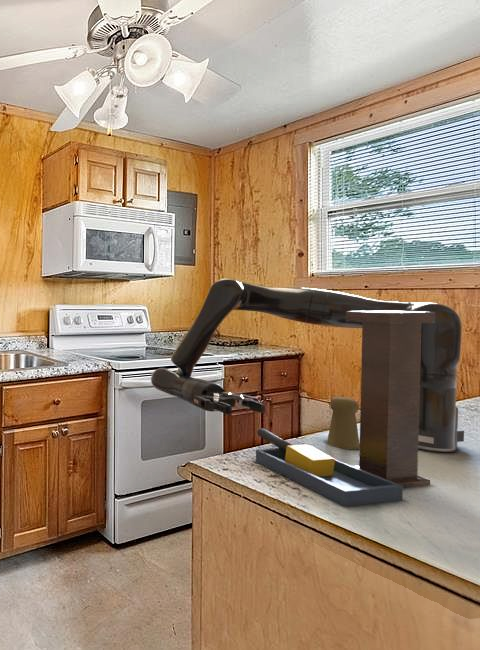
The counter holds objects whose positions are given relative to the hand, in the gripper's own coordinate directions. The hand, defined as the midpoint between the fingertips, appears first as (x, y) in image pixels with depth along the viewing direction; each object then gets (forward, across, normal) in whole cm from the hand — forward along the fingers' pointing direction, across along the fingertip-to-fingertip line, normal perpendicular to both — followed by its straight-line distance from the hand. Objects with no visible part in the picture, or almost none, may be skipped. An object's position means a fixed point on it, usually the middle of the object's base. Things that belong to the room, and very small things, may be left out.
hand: (246, 409), depth 100 cm
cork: (+4, +22, +8) cm, 24 cm away
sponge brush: (+12, 0, +7) cm, 13 cm away
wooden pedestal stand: (+21, +12, +8) cm, 26 cm away
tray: (+19, 0, +8) cm, 21 cm away
